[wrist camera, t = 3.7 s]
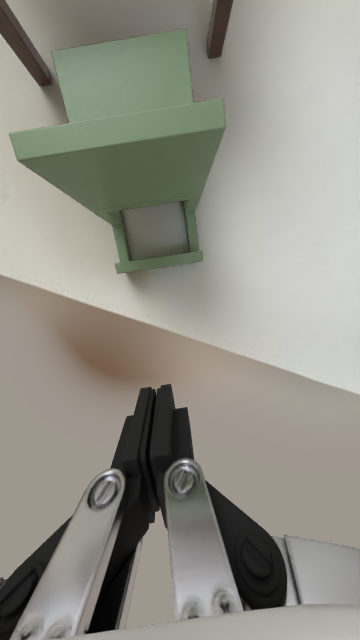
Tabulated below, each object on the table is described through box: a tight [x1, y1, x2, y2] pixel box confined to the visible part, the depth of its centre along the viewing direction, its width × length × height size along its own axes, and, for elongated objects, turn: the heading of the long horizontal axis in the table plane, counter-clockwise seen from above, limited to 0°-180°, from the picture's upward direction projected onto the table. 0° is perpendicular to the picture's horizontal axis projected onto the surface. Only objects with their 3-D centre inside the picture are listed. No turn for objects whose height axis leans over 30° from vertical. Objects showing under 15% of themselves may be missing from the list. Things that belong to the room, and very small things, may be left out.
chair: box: [9, 29, 225, 273], centre depth 13 cm, size 9×14×13 cm, turn 8°
